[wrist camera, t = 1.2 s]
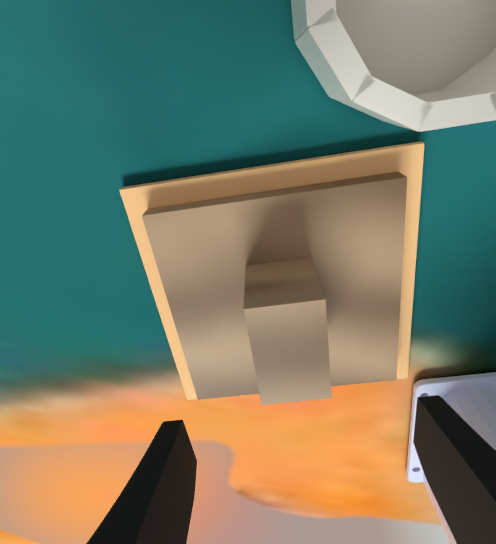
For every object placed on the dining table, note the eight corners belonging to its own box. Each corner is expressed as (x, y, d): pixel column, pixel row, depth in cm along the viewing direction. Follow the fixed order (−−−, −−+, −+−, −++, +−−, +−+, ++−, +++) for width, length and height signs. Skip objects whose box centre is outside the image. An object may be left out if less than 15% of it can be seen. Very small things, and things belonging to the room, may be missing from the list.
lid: (390, 366, 20) (423, 436, 16) (200, 386, 21) (187, 456, 17) (398, 171, 15) (449, 203, 11) (147, 208, 16) (112, 250, 12)
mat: (404, 371, 21) (407, 378, 21) (188, 393, 22) (187, 399, 22) (419, 141, 15) (424, 143, 15) (122, 186, 16) (119, 189, 16)
